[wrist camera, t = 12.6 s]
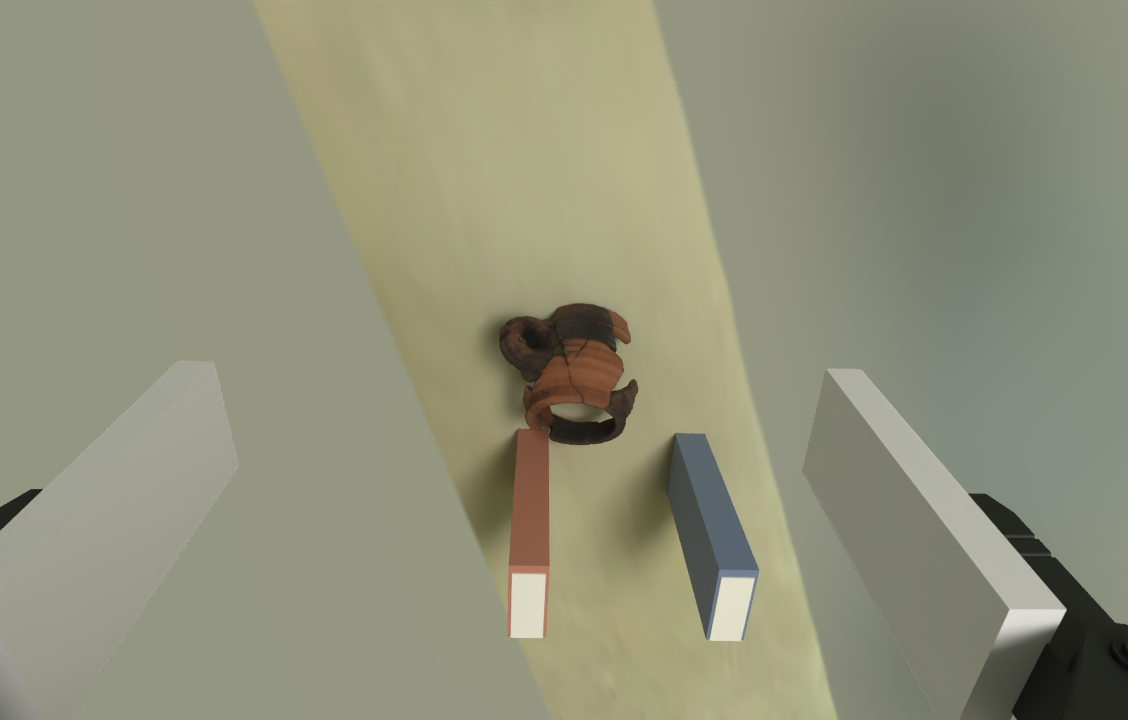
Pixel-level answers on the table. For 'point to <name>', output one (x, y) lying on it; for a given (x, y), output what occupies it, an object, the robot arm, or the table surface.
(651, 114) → the table surface
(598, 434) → the pottery mug
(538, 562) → the brick red book
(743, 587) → the navy book
